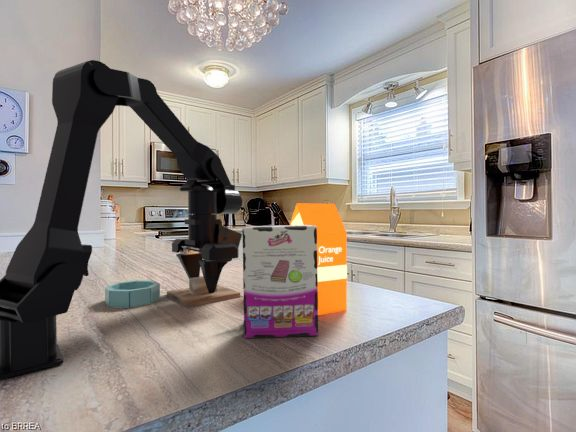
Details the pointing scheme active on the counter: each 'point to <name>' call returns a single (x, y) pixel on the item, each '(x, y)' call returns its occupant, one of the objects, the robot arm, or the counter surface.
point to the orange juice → (327, 254)
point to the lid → (201, 293)
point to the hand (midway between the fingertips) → (203, 289)
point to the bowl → (132, 293)
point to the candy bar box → (280, 281)
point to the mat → (197, 305)
